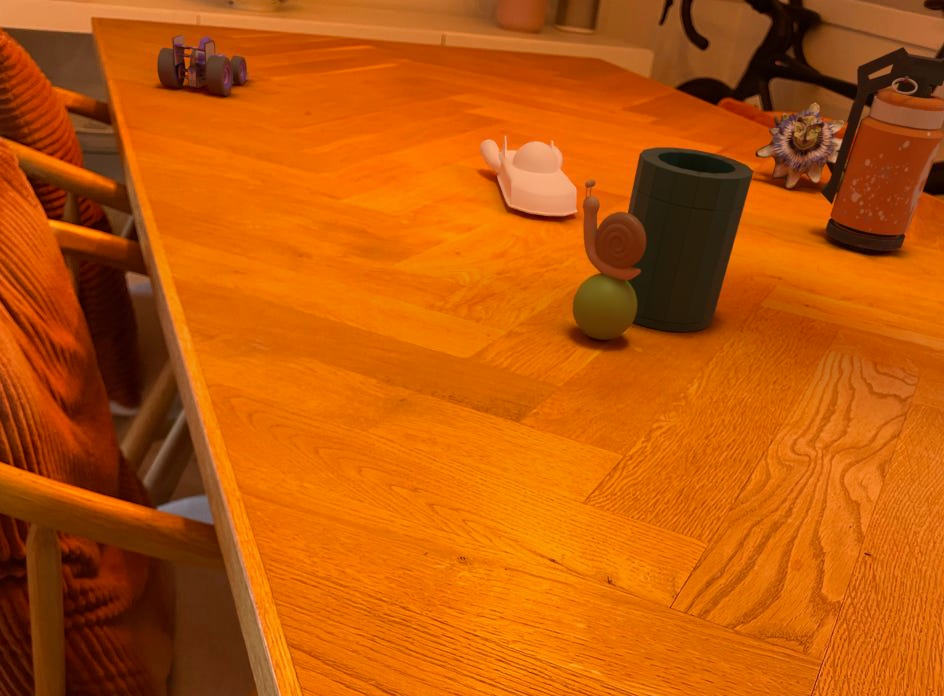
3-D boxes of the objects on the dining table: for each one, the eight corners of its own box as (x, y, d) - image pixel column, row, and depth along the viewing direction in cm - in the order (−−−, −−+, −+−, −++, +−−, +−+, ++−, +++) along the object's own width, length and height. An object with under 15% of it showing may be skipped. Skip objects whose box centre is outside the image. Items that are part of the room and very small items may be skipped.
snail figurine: (577, 316, 89) (604, 174, 81) (640, 339, 86) (673, 194, 79) (546, 332, 85) (570, 184, 78) (610, 355, 83) (642, 205, 75)
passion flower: (778, 228, 140) (749, 149, 133) (777, 194, 147) (751, 117, 140) (861, 194, 134) (836, 109, 127) (856, 160, 141) (833, 78, 134)
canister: (898, 261, 114) (973, 64, 101) (802, 241, 116) (863, 45, 104) (900, 242, 121) (970, 55, 108) (809, 223, 123) (868, 37, 110)
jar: (730, 318, 93) (772, 170, 85) (677, 340, 87) (716, 184, 79) (646, 286, 97) (678, 142, 89) (589, 305, 91) (618, 153, 83)
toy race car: (257, 81, 152) (256, 32, 148) (222, 99, 140) (220, 46, 136) (198, 72, 152) (195, 23, 148) (157, 88, 141) (154, 35, 137)
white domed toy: (499, 217, 110) (506, 161, 106) (477, 169, 125) (482, 118, 122) (589, 224, 112) (599, 169, 108) (556, 176, 127) (564, 126, 123)
